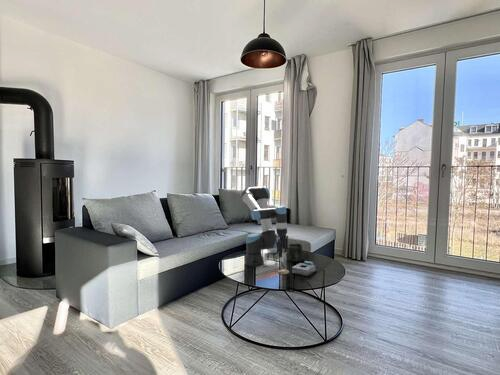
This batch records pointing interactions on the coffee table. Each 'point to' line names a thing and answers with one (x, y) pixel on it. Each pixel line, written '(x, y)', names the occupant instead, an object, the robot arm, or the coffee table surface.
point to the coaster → (283, 271)
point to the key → (283, 259)
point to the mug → (295, 252)
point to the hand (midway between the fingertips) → (283, 260)
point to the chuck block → (304, 268)
